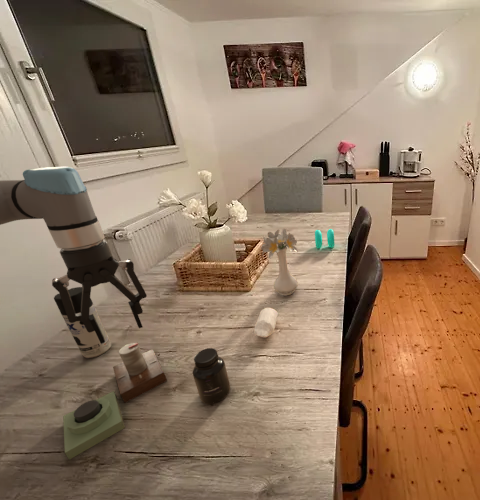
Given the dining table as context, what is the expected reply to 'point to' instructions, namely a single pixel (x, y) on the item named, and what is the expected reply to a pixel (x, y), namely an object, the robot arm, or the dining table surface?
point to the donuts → (329, 238)
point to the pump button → (87, 411)
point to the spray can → (82, 337)
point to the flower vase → (281, 260)
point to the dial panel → (139, 378)
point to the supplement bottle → (210, 376)
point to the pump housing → (92, 426)
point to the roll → (266, 322)
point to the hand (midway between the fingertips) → (121, 332)
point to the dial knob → (133, 358)
